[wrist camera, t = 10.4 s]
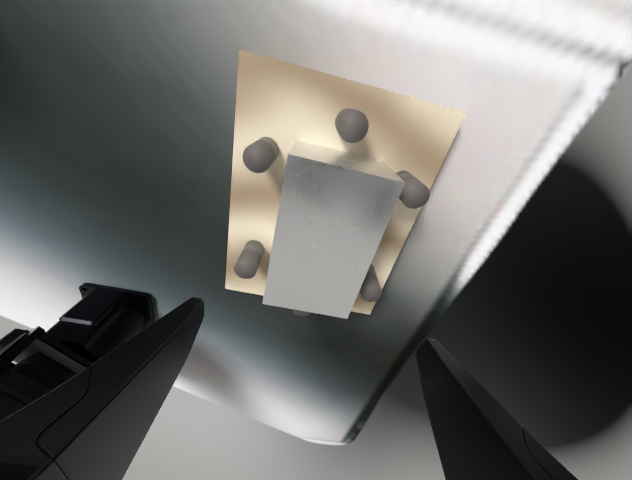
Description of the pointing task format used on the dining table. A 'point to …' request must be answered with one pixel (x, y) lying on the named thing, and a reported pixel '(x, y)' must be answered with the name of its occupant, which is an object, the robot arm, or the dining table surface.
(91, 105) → the dining table surface
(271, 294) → the block
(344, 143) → the pin tray
